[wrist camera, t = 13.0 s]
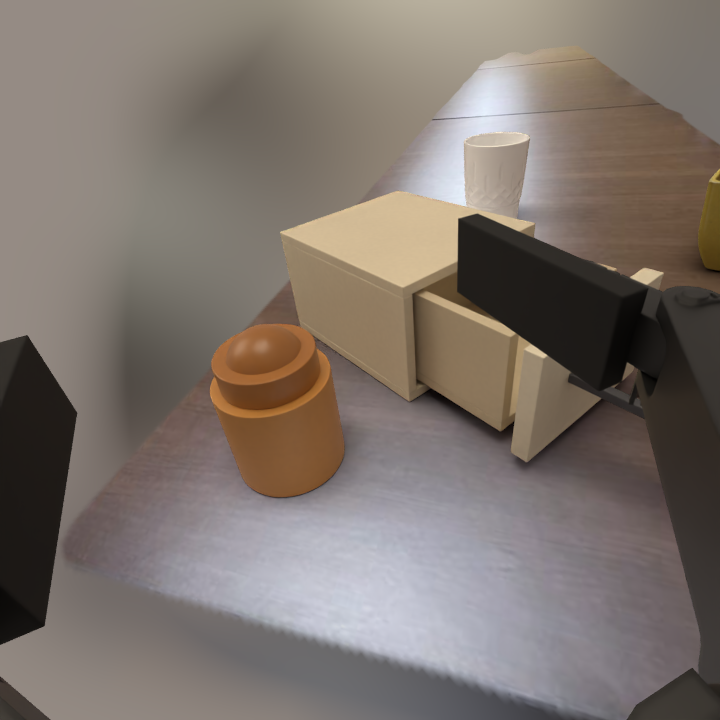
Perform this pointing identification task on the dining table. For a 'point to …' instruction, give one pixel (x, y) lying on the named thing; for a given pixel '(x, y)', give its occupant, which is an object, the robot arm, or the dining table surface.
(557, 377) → the drawer
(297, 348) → the orange dome-capped jar
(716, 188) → the flower pot
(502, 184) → the white cup
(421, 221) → the cabinet
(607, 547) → the dining table surface
